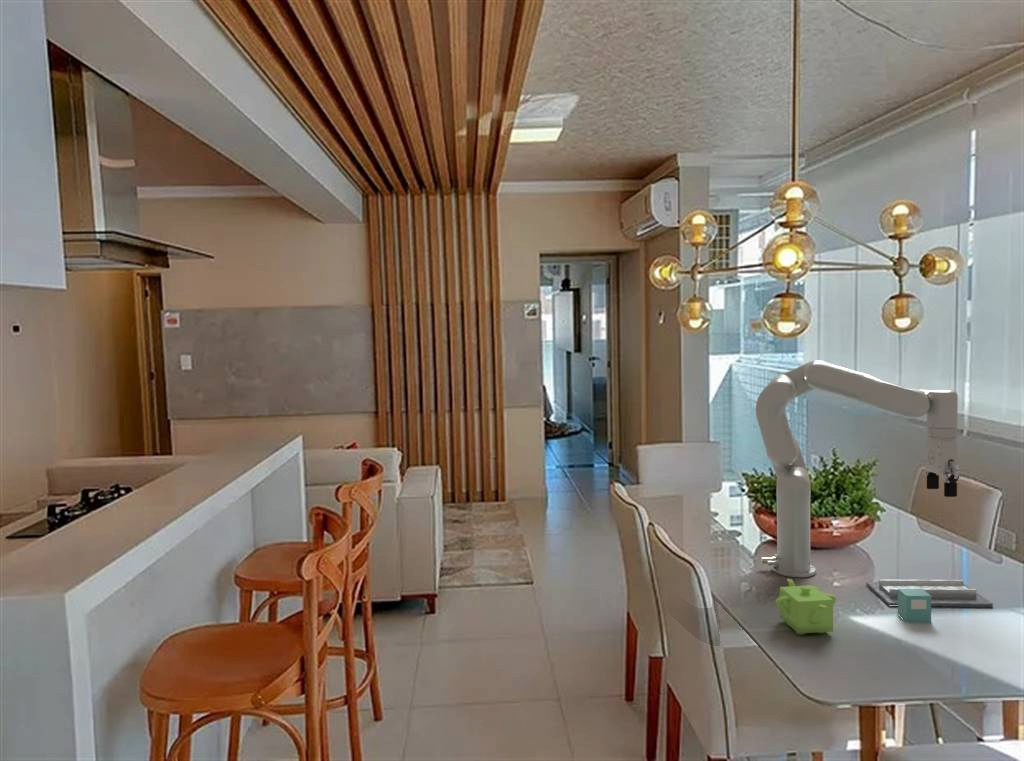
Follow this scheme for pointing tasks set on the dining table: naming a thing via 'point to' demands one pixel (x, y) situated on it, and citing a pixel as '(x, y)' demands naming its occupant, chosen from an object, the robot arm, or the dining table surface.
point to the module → (914, 605)
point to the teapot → (806, 608)
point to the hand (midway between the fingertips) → (941, 492)
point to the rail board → (931, 592)
